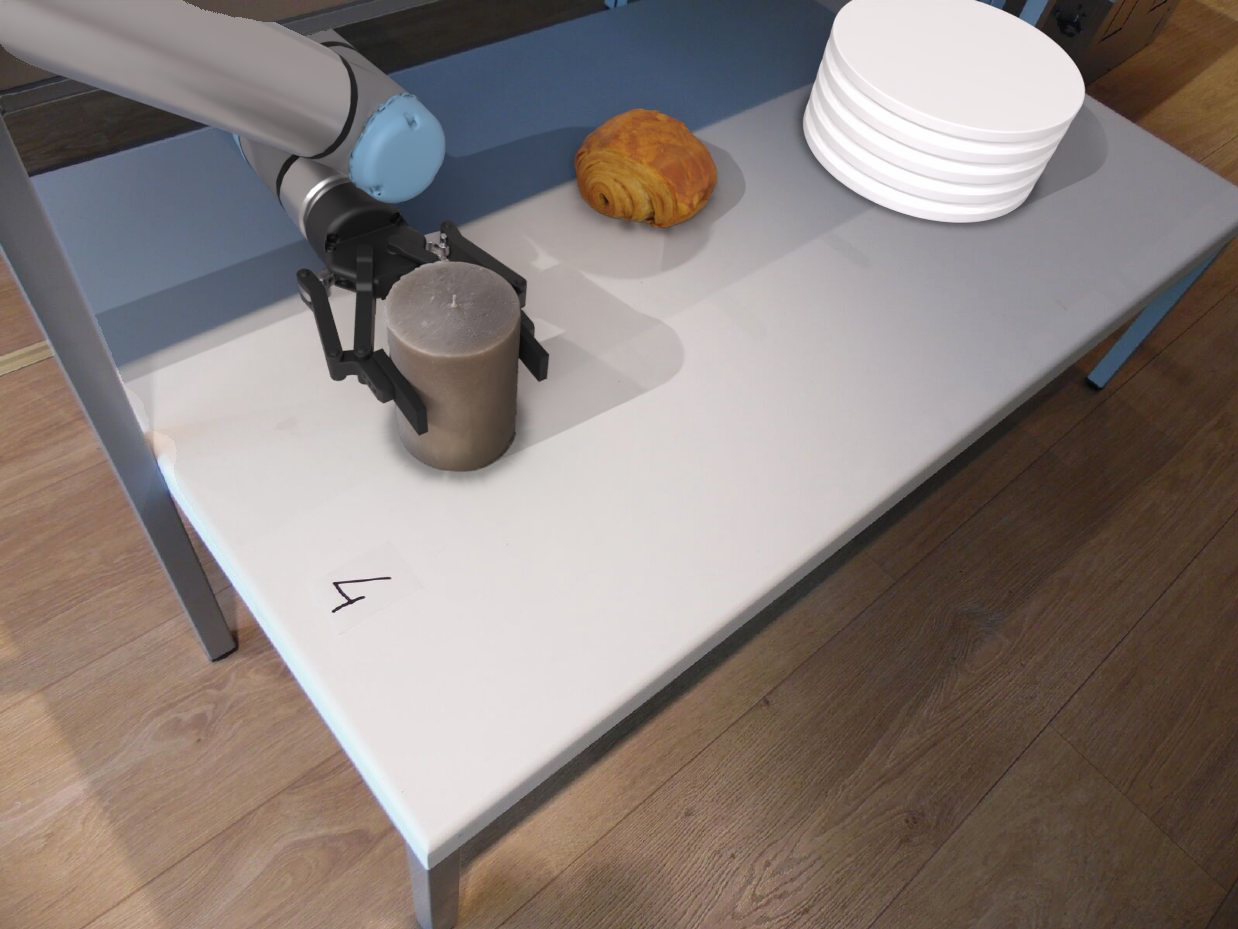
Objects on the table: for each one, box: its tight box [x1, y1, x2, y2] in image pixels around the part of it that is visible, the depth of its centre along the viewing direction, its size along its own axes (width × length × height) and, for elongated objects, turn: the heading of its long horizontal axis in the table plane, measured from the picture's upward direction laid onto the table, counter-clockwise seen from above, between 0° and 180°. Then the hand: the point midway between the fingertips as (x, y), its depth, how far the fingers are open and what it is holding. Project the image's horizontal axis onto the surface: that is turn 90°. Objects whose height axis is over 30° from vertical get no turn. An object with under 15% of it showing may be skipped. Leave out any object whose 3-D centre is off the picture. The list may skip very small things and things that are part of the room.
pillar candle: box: [383, 260, 521, 473], centre depth 70 cm, size 10×10×15 cm
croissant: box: [573, 107, 718, 229], centre depth 95 cm, size 14×16×8 cm
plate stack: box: [802, 0, 1086, 224], centre depth 104 cm, size 28×28×12 cm
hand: (485, 394), depth 67 cm, fingers closed on pillar candle, 10 cm apart
